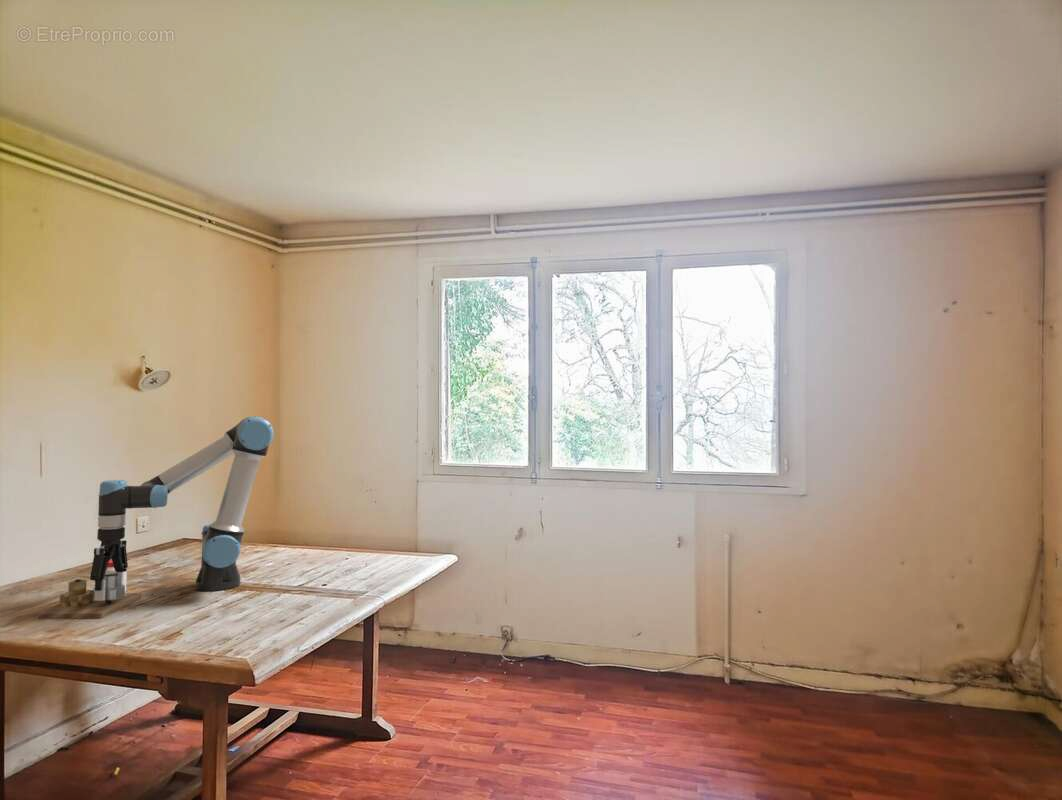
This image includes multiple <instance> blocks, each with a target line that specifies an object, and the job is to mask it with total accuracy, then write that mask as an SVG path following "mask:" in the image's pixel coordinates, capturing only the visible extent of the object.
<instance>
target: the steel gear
mask: <svg viewBox="0 0 1062 800" xmlns="http://www.w3.org/2000/svg"><path fill="white" fill-rule="evenodd" d="M103 580H105V600H113V599H116V598H121V597H123V596H124V595H125V593H126V591H125V585H120V584H118V581H119V574H105V576H104V579H103ZM94 598H95V587H94V588H92V599H93V600H94Z"/></svg>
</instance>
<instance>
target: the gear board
mask: <svg viewBox="0 0 1062 800" xmlns="http://www.w3.org/2000/svg"><path fill="white" fill-rule="evenodd" d="M87 585H88V583H87V579H81V578H76V579H74V580H70V581H68V588H67V589H68V591H67V592H65V593H63V594H60V595H59V604H57V605H55V606H52V607H50V608H48V609H46V610H42V611H40V612H38V613H37V619H103V618H105V617H107V616H109V615H110V614H113V613H114V612H116V611H118V610H120V609H122V608H124V607H126V606H128V605H130V604H132V603H133V602H136V601H138V600H139V599H142V596H143V593H141V592H131V593H130V592H128V593H127V592H125V595H124V596H123V597H121V598H116V599H113V600H103V601H94V600H93V599H92V590H93V589H92V590H91V589H87Z"/></svg>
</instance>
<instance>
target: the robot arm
mask: <svg viewBox="0 0 1062 800" xmlns="http://www.w3.org/2000/svg"><path fill="white" fill-rule="evenodd" d="M274 434H275V433H274V428H273V426H272V424H271V422H269V421H268V420H267V419H265V418H264V417H260V416H248V417H245V418H243V419H242V420H241V421H239V422H238V423H237V424H236V425H235V426H233V427H232V428H230V429H229V430H227V431H226V432H224V435H223V436H222V437H221V438H218V439H217V440H216V441H214V442H212V443H210V444H209V445H207V446H205V447H204V448H202V449H200V450H198V451H197V452H195V453H193V454H191V456H188V457H186V458H185V459H184V460H181V461H180V462H179V463H178V462H177V464H175V465H173V466H172V467H170V468H168V469H166V470H165V471H162V472H161V473H159V474H157V476H154V477H153V478H151V479H150V480H147V481H144V482H143V483H142V484H141V485H128V484H127V483H128V482H127V480H124V479H108V480H104V481H102V482H101V483H100V484H99V492H98V493H99V494H98V513H97V514H98V517H97V527H98V529H97V537H96V538H97V540H98V541H100V543H101V544H100V545H99V547H95V548H94V549H93V559H92V565H91V570H90V577H89V579H90V581H94V588H95V598H94V601H103V600H105V580H103V579H104V576H105V573H106V570H107V566H108V563H109V560H112V562H113V565H114V569H115V571H116V572H114V573H113V574H119V581H118V584H120V585H122V584H123V572H126V571H127V572H128V567H129V566H128V556H127V540H123V539H124V538H125V535H126V534H125V533H126V528H125V527H124V526H125V525H126V514H127V513H126V512H127V510H128V509H129V510H130V509H152V508H153V509H158V508H164V507H166V506H167V505H168V495H170V493H172V492H174V491H175V490H176V489H178V488H180V487H182V486H183V485H185V484H187V483H188V482H190V481H191V480H194V479H196V478H197V477H198V476H201V475H202V474H204V473H205V472H207V471H208V470H210V469H212V468H214V467H215V466H217V465H219V464H220V463H222V462H223V461H226V460H227V459H228V458H230V457H232V456H233V455H234V458H233V461H232V464H231V468H230V471H229V475H228V478H227V480H226V481H227V482H226V484H225V488H224V491H223V494H222V498H221V501H220V506H219V509H218V512H217V515H216V519H215V520H214V521H213V522H212V523H210V524H206V525H204V526H203V527H202V531H201V535H202V536H201V540H202V541H201V561H200V562H201V566H200V569H199V571H198V574H197V576H196V580H195V581H194V582H195V585H194V587H195V589H196V590H198V591H206V592H210V591H211V592H216V591H223V590H224V591H225V590H228V589H233V588H235V587H238V586H240V585H241V581H242V579H241V578H242V577H241V575H240V574H241V573H240V571H239V569H238V566H237V559H238V558H239V557H240V554H241V544H242V540H243V539H244V538H243V537H244V533H245V529H244V527H243V526H242V524H243V521H244V517H245V514H246V510H247V507H248V504H249V500H250V496H251V493H252V490H253V487H254V482H255V479H256V475H257V472H258V468H259V465H260V462H261V460H263V459H264V458H266V457H267V453H268V450H269V446H270V444H271V443H272V441H273V439H274ZM126 509H127V510H126ZM123 564H124V565H123ZM125 568H127V569H125Z"/></svg>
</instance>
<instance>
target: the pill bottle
mask: <svg viewBox="0 0 1062 800" xmlns="http://www.w3.org/2000/svg"><path fill="white" fill-rule="evenodd" d="M123 565H124V564H123ZM125 569H127V571H126V572H123V584H122V585H125V592H126V591H127V581H128V580H127V577H128V576H127V575H128V567H127V568H125ZM114 572H116V571H115V569H114V565H113V562H112V559H110V560H109V563H108V566H107V570H106V573H105V574H113V573H114Z"/></svg>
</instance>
